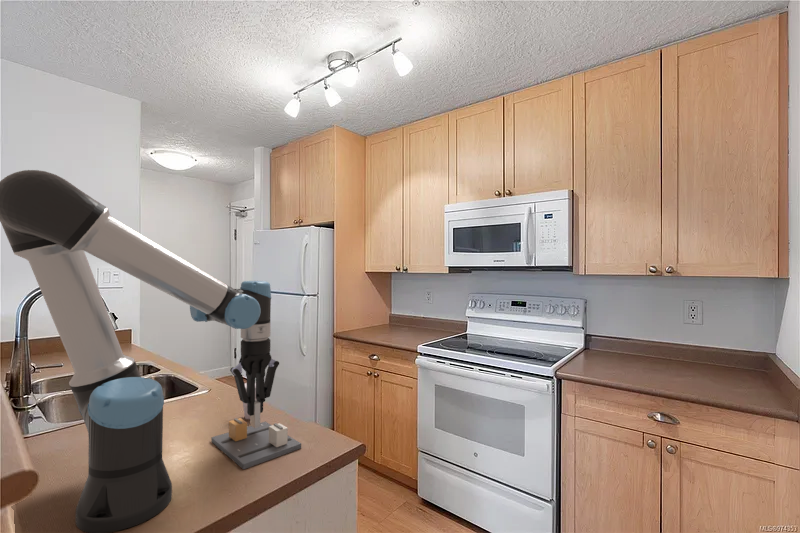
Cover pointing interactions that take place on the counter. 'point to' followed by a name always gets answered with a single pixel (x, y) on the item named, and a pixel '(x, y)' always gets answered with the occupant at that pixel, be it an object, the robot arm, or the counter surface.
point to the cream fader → (278, 435)
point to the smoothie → (246, 403)
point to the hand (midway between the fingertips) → (255, 425)
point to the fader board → (253, 446)
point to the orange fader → (237, 429)
